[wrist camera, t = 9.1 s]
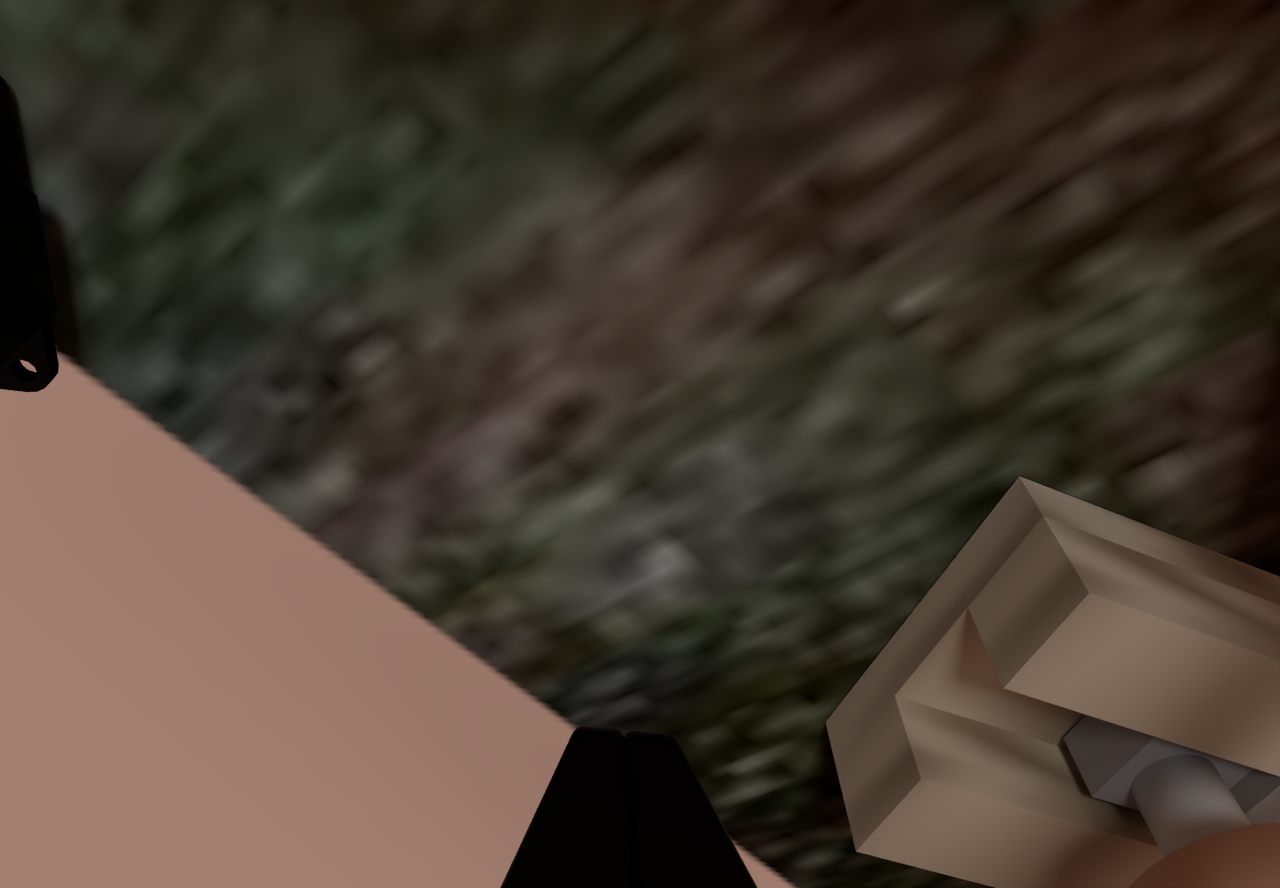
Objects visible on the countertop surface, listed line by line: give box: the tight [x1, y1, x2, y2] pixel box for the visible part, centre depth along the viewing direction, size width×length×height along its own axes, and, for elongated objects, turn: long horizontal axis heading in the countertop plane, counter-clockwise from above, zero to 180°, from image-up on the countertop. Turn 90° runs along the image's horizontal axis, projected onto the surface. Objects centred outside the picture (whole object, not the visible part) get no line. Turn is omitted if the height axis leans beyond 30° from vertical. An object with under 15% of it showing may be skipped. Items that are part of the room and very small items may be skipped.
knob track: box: [826, 476, 1280, 888], centre depth 25 cm, size 9×9×4 cm
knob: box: [1064, 715, 1280, 888], centre depth 22 cm, size 5×5×9 cm
